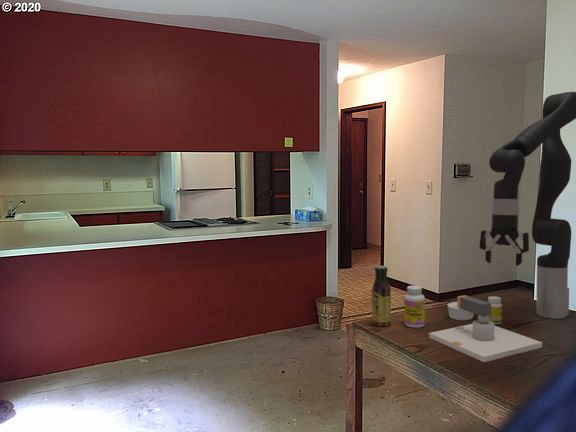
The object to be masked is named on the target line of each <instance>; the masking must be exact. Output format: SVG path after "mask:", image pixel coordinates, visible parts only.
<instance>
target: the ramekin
mask: <svg viewBox="0 0 576 432" xmlns="http://www.w3.org/2000/svg"><path fill="white" fill-rule="evenodd" d="M447 309H448V316H449V318H451V319H452V320H456V321H470V320H472V319H474V313H471V312H468V311H465V310H463V309H459V308H457V301H454V302H453V301H452V302H449V303H447Z"/></svg>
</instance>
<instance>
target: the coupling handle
mask: <svg viewBox="0 0 576 432" xmlns="http://www.w3.org/2000/svg"><path fill="white" fill-rule="evenodd" d="M456 298H457V300H456V302H457V308H459V309H463V310H465V311H468V312H471V313H474V314H475V315H477V320H478V322H479V323H489V315H491V303H488V301H485V300H481V299H478V298H475V297H472V296H469V295H466V294H465V295H459V296H456Z"/></svg>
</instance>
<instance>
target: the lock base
mask: <svg viewBox="0 0 576 432" xmlns="http://www.w3.org/2000/svg"><path fill="white" fill-rule="evenodd" d="M428 338H429V339H431V340H434V341H435V342H437V343H441V344H442V345H444V346H446V347H449V348H450V349H451V348H452V349H453V350H455V351H458V352H460V353H462V354H464V355H466V356H469V357H471V358H473V359H476V360H478V361H480V362H482V363H486V362H487V363H488V362H490V361H495V360H499V359H502V358H506V357H510V356H515V355H517V354H518V355H519V354H523V353H526V352H530V351H534V350H537V349H542V348H543V342H542V341H539V340H536V339H534V338H530V337H528V336H525V335H523V334H519V333H517V332H514V331H511V330H508V329H505V328H502V327H500V326H496V325H495V324H494V322H492V321H489V323H479V322H478V319H474V320H473V321H472V323H469V324H466V325H459V326H455V327H452V328H446V329H443V330H441V329H440V330H438V331H437V330H436V331H432V332H428Z"/></svg>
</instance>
